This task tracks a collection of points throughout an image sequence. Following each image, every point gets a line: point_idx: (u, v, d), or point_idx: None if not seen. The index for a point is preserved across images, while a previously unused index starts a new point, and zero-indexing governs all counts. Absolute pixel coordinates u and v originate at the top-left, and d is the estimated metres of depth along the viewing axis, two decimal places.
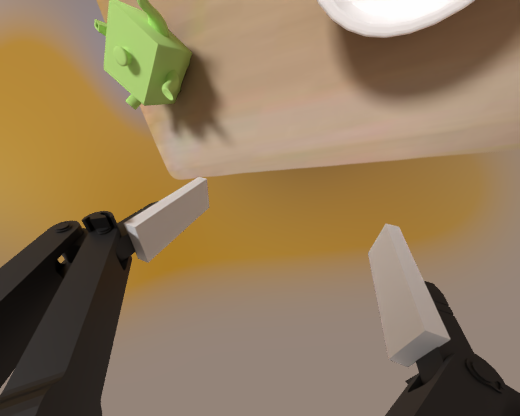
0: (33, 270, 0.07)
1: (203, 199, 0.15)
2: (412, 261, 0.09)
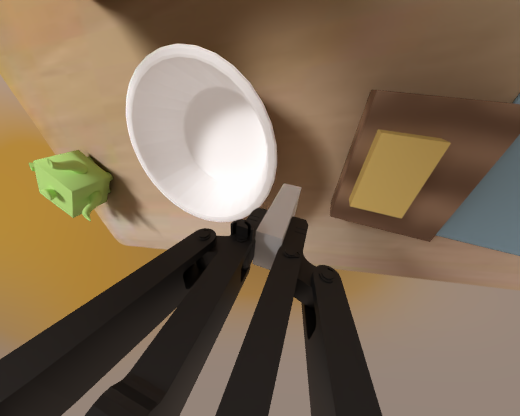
0: (168, 275, 0.08)
1: None
2: (292, 204, 0.12)
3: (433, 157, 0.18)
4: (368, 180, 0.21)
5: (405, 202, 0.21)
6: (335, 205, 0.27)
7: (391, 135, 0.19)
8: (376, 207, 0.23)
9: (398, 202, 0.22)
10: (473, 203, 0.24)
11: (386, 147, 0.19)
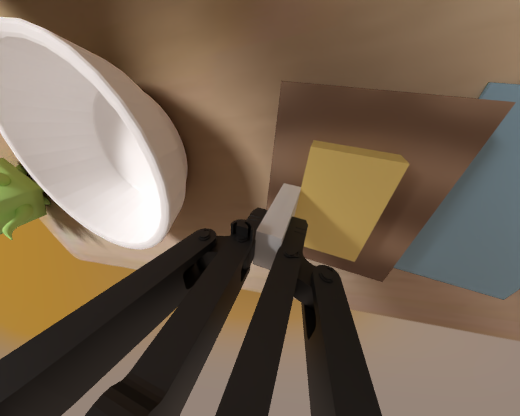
0: (168, 275, 0.08)
1: None
2: (292, 204, 0.12)
3: (386, 184, 0.12)
4: (305, 210, 0.15)
5: (356, 242, 0.15)
6: None
7: (324, 150, 0.12)
8: (320, 245, 0.17)
9: (347, 241, 0.15)
10: (438, 232, 0.18)
11: (320, 167, 0.13)
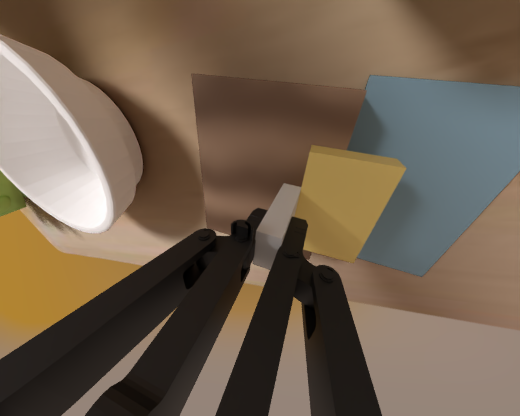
0: (168, 275, 0.08)
1: None
2: (292, 204, 0.12)
3: (384, 187, 0.12)
4: (304, 214, 0.15)
5: (355, 244, 0.15)
6: (207, 215, 0.22)
7: (323, 155, 0.13)
8: (320, 248, 0.17)
9: (345, 243, 0.16)
10: None
11: (319, 172, 0.13)
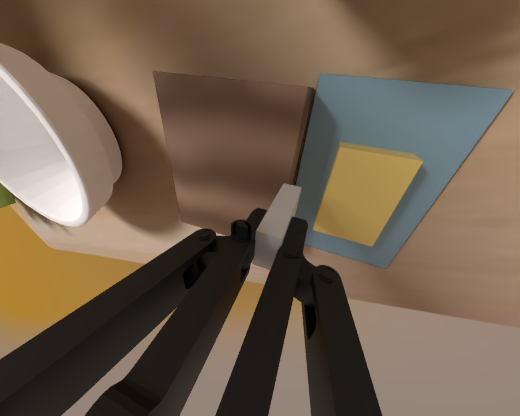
0: (168, 275, 0.08)
1: None
2: (293, 204, 0.12)
3: None
4: None
5: None
6: (180, 209, 0.23)
7: None
8: None
9: None
10: None
11: None
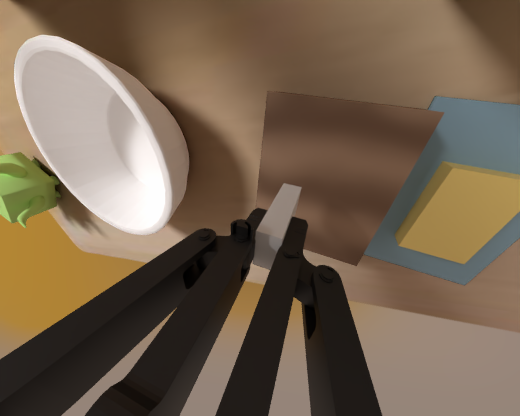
0: (167, 275, 0.08)
1: None
2: (293, 204, 0.12)
3: None
4: None
5: None
6: None
7: None
8: None
9: None
10: None
11: None
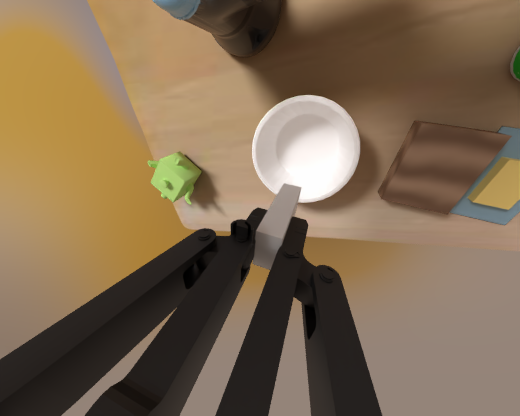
0: (168, 275, 0.08)
1: None
2: (292, 204, 0.12)
3: None
4: None
5: None
6: (386, 191, 0.41)
7: None
8: None
9: None
10: None
11: None
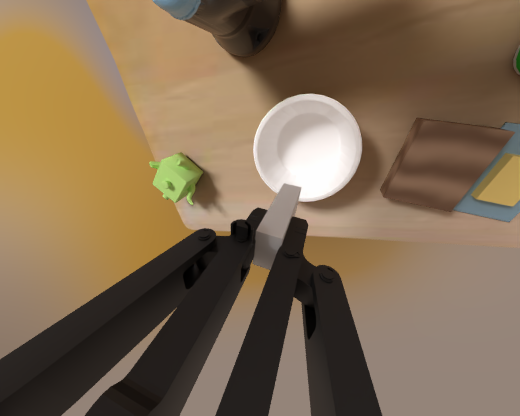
0: (167, 275, 0.08)
1: None
2: (292, 204, 0.12)
3: None
4: None
5: None
6: (388, 189, 0.41)
7: None
8: None
9: None
10: None
11: None
